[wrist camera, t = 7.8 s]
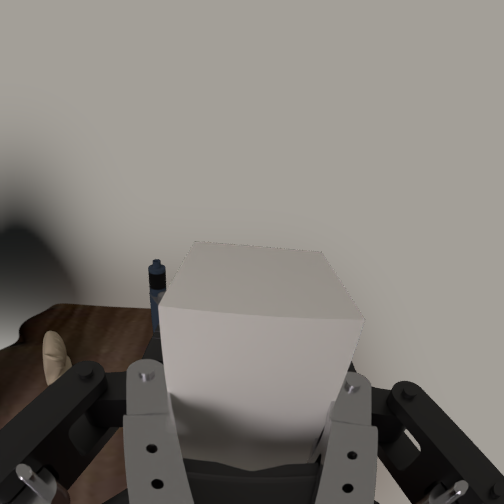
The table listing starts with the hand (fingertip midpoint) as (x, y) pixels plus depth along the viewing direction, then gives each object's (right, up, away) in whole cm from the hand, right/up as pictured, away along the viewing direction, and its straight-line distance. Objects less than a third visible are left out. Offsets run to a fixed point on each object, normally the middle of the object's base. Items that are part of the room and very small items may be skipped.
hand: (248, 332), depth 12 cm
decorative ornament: (-25, -12, +17) cm, 33 cm away
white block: (0, -7, -1) cm, 7 cm away
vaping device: (-13, -10, +28) cm, 32 cm away
